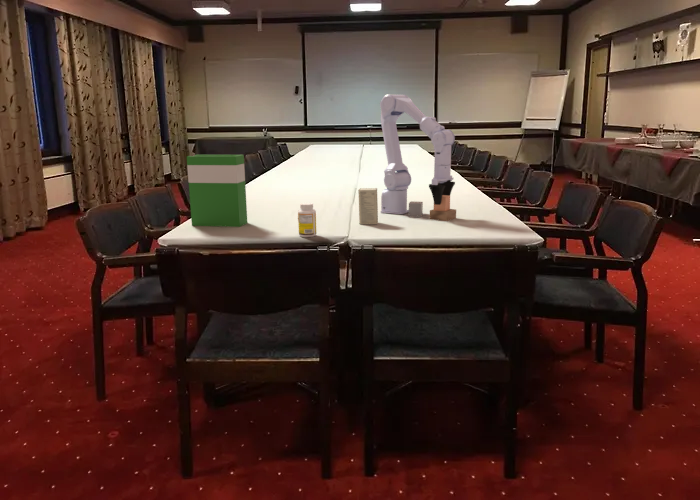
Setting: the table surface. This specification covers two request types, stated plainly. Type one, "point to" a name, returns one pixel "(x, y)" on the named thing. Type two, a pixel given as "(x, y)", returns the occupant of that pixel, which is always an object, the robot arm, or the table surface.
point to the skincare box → (368, 206)
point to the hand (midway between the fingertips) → (441, 203)
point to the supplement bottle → (307, 220)
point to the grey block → (415, 209)
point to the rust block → (443, 204)
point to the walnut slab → (443, 215)
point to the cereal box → (217, 190)
